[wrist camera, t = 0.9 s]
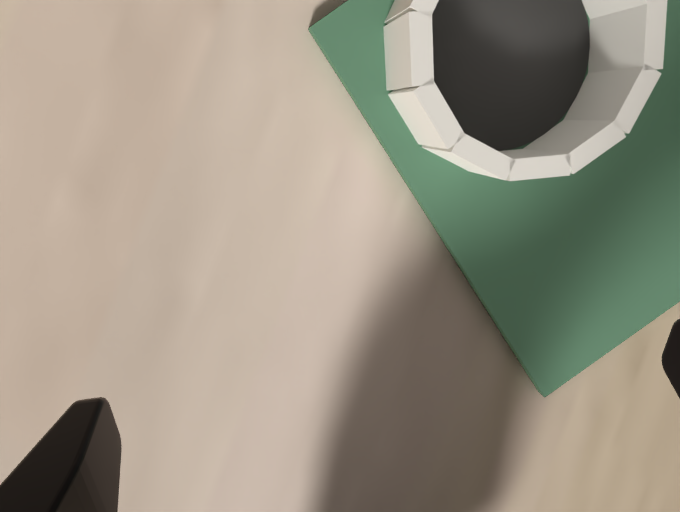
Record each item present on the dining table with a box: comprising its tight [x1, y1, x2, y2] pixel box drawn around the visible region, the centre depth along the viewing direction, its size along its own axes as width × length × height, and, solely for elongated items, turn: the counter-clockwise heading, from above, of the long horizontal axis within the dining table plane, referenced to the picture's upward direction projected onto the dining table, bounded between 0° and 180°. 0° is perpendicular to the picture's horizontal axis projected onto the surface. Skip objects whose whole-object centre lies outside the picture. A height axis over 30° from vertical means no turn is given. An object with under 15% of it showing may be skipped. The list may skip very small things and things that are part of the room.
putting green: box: [308, 0, 680, 397], centre depth 24 cm, size 20×20×4 cm
